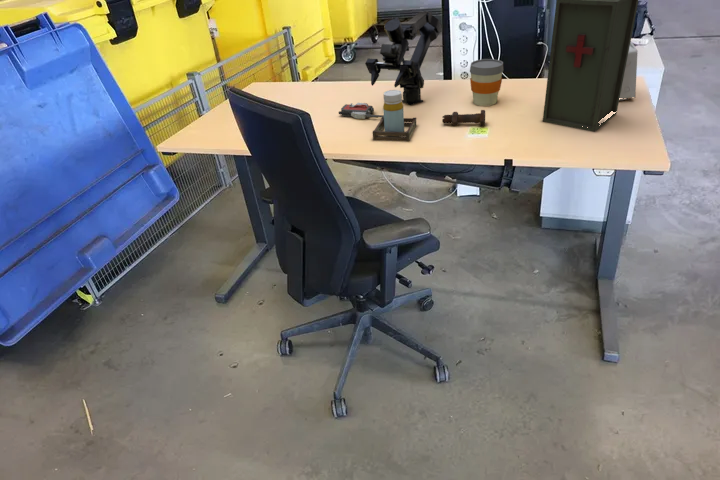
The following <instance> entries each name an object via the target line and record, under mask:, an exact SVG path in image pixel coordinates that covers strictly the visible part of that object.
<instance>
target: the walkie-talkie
mask: <svg viewBox="0 0 720 480" xmlns="http://www.w3.org/2000/svg"><path fill="white" fill-rule="evenodd" d="M374 112H375V108H374V107H373V105H369V103H367V102H357V103H355V104H353V103H350V104H349V103H348V104H346V103H345V104H344V105H343V106H342V107H341V108H340V111H338V113H337V114H338V115H341V116H342V117H345V118H346V117H348V118H354V119H359V120H360V119H362V120H366V119H367V118H375V119H377V118H378V119H379V118H382V117H384V114H374Z"/></svg>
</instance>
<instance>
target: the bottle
mask: <svg viewBox="0 0 720 480" xmlns="http://www.w3.org/2000/svg"><path fill="white" fill-rule="evenodd" d="M402 100H403V93H402V91H401V90H400V89H399V90H398V89H388V90H387V91H384V92H383V105H382V113H383V114H382V115H384V127H383V129H384V131H387V132H405V127H404V123H405V122H404V118H405V114H404V104H403V102H402Z"/></svg>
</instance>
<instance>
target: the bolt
mask: <svg viewBox="0 0 720 480" xmlns="http://www.w3.org/2000/svg"><path fill="white" fill-rule="evenodd" d="M441 121H442V123H443V124H451V125H452V126H453V127H457V126H458V125H459V124H479V125H480V127H485V126H486V110H485V109H481V110H480V112H479V113H478V112H477V113H465V114H459V112H458V111H453V112H452V113H451V114H444V115H443V116H442V120H441Z"/></svg>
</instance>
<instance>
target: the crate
mask: <svg viewBox="0 0 720 480" xmlns="http://www.w3.org/2000/svg"><path fill="white" fill-rule="evenodd" d="M405 127H407V130H406V131H404V132H387V131H385V130H384V131H383V129H384V117H380V121H379V122H378V124H377V125H376V127H375V128H374V130H372V140H373V141H394V142H395V141H397V142H399V141H400V142H410V140H411V137H412V136H413V133H414V131H415V129H416V127H417V117H404V128H405Z"/></svg>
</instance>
